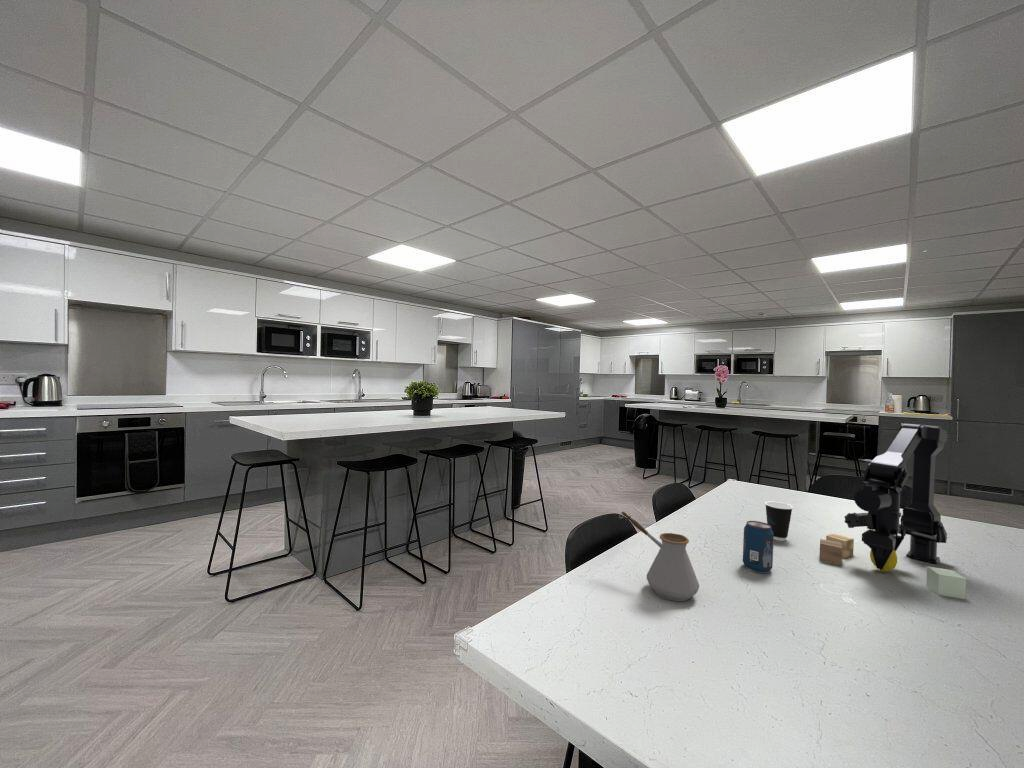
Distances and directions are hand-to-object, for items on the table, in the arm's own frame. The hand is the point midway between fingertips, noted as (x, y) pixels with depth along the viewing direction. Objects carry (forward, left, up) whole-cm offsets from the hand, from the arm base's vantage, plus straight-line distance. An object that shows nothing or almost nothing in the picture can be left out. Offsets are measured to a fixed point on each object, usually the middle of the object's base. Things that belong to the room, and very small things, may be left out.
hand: (883, 564), depth 114 cm
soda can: (+28, -21, -2) cm, 35 cm away
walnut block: (+3, -11, -2) cm, 12 cm away
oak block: (-6, -11, -2) cm, 13 cm away
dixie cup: (-4, -27, -2) cm, 27 cm away
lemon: (0, 0, -2) cm, 2 cm away
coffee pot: (+60, -32, -2) cm, 68 cm away
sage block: (+2, +12, -2) cm, 12 cm away
